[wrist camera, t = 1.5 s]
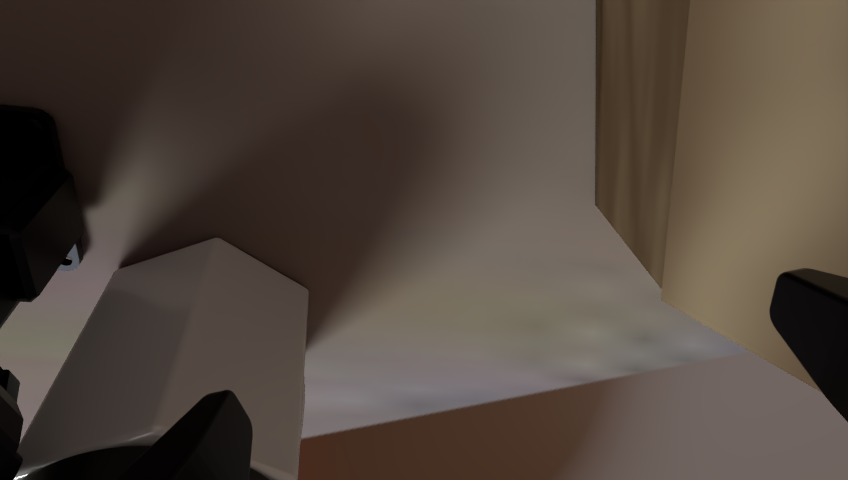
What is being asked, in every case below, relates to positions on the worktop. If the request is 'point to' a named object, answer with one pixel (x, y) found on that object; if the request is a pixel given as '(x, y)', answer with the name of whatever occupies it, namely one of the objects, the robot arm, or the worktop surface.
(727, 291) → the lid
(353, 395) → the worktop surface
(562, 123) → the worktop surface
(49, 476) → the jar
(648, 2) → the cardboard box
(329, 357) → the worktop surface
